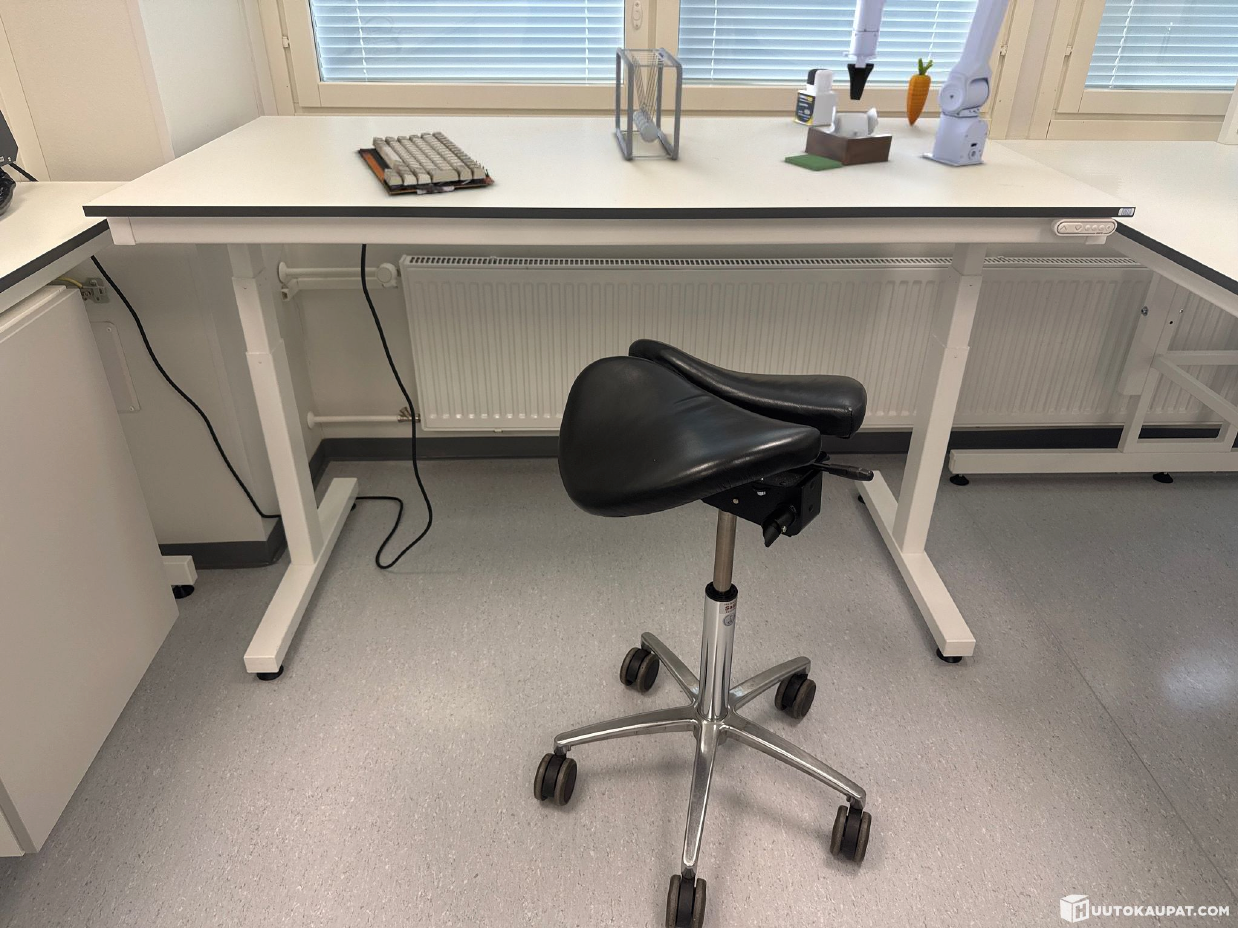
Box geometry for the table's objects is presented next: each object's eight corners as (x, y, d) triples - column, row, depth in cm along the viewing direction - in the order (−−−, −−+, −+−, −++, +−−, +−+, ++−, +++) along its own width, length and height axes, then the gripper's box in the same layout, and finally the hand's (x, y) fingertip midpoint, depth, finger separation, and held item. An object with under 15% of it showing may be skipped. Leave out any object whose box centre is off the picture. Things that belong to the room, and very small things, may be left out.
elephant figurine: (861, 145, 181) (869, 101, 176) (876, 157, 171) (884, 111, 166) (818, 144, 181) (825, 101, 176) (830, 156, 171) (837, 111, 166)
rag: (841, 166, 163) (842, 162, 163) (815, 171, 160) (816, 166, 160) (809, 157, 170) (810, 153, 169) (784, 161, 166) (784, 157, 166)
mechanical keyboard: (356, 151, 168) (354, 134, 166) (448, 145, 174) (447, 128, 173) (391, 199, 139) (388, 178, 137) (499, 189, 146) (498, 170, 144)
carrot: (919, 124, 203) (933, 56, 194) (923, 128, 198) (938, 59, 190) (899, 123, 203) (912, 56, 195) (903, 127, 199) (916, 58, 191)
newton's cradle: (678, 162, 164) (683, 64, 155) (626, 162, 164) (628, 64, 154) (659, 132, 189) (663, 46, 180) (615, 132, 189) (615, 46, 179)
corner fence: (887, 161, 168) (892, 135, 165) (843, 165, 164) (847, 139, 161) (847, 148, 178) (851, 123, 175) (804, 152, 174) (808, 127, 171)
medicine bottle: (793, 121, 203) (800, 68, 196) (817, 119, 206) (824, 66, 199) (811, 126, 198) (818, 72, 191) (834, 124, 200) (842, 70, 194)
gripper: (848, 27, 181) (838, 93, 188) (845, 33, 169) (835, 103, 176) (881, 28, 179) (869, 95, 187) (880, 34, 168) (868, 106, 175)
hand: (855, 99), depth 182 cm, fingers closed
